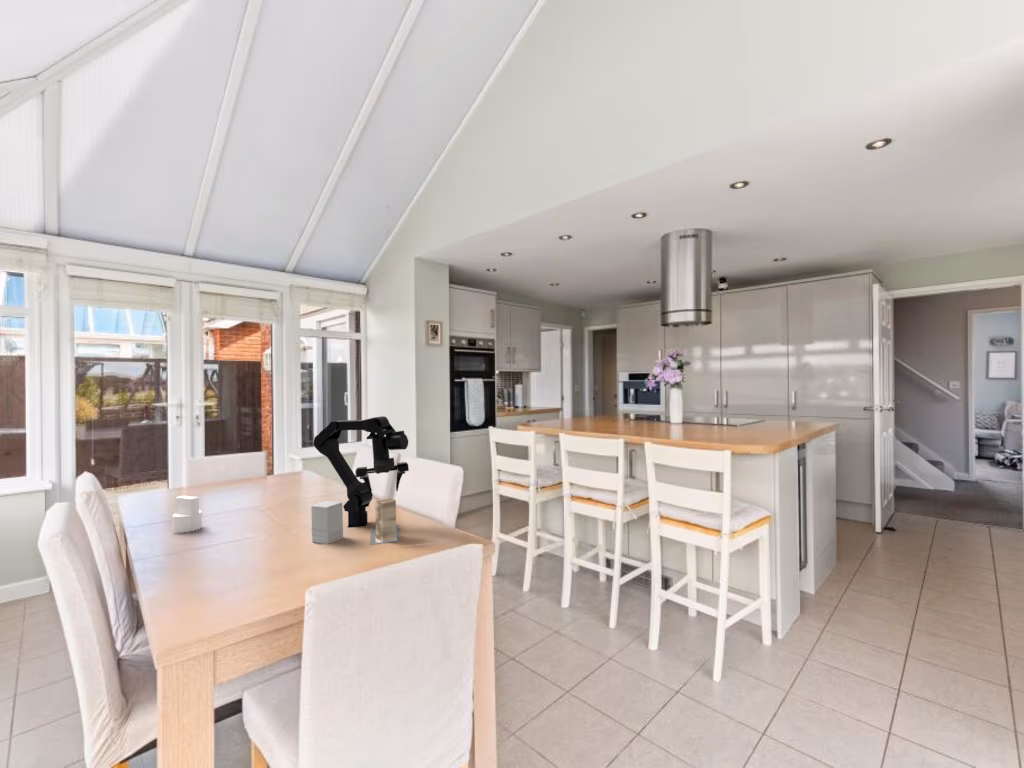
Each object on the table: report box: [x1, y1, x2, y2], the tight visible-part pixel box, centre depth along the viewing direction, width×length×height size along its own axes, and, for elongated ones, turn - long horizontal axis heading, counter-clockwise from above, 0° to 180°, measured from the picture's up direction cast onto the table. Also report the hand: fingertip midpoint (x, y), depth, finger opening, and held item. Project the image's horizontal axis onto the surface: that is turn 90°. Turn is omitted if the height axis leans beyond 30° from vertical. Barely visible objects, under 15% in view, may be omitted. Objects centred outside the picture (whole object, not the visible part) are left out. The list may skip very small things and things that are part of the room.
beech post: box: [374, 497, 397, 542], centre depth 163 cm, size 5×5×13 cm
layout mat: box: [369, 524, 402, 546], centre depth 168 cm, size 10×20×1 cm, turn 16°
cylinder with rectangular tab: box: [172, 495, 203, 533], centre depth 179 cm, size 9×9×12 cm
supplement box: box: [310, 500, 344, 545], centre depth 164 cm, size 7×7×13 cm
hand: (384, 492), depth 177 cm, fingers open, 9 cm apart
